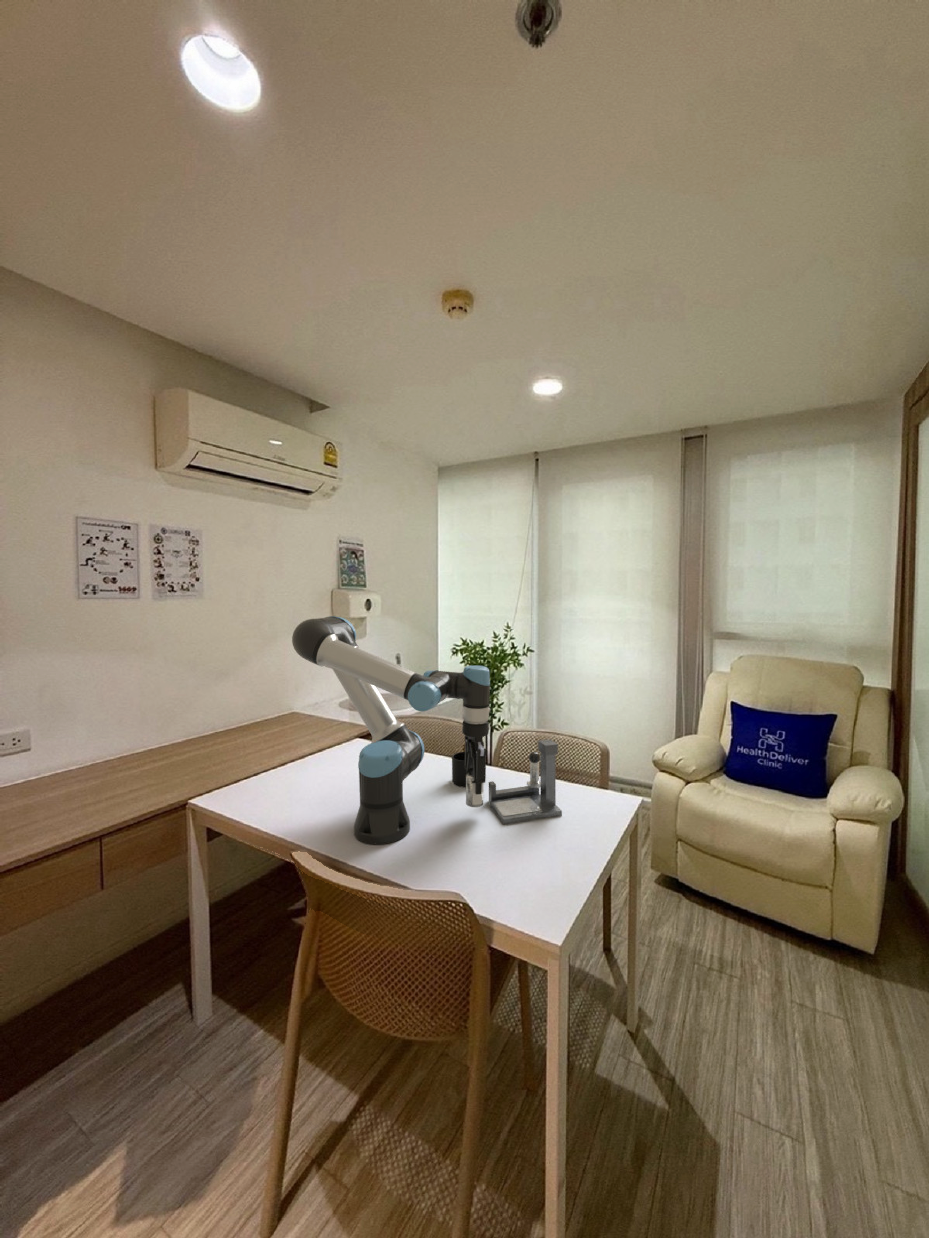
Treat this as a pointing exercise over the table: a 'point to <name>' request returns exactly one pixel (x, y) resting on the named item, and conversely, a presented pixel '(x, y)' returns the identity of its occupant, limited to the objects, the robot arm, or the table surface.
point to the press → (529, 793)
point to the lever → (534, 770)
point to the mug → (459, 769)
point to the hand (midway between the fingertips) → (474, 799)
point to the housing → (469, 790)
